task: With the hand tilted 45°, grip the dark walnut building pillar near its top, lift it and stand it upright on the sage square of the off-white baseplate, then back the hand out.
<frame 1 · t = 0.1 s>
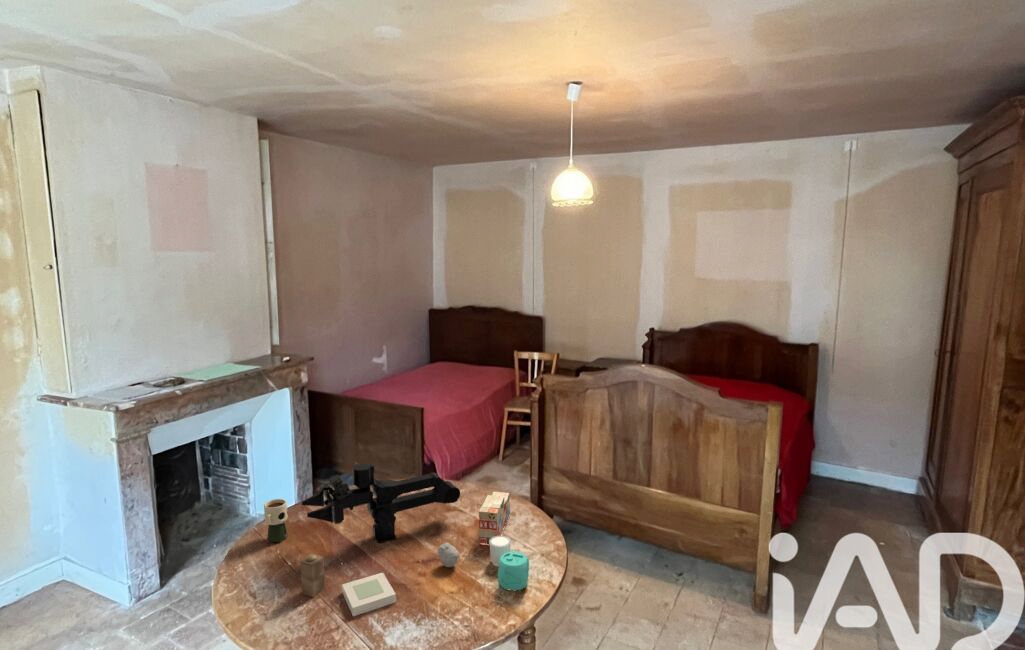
hand: (304, 509, 176), 17 cm above the table, tool horizontal, fingers open, 9 cm apart
teal lidded canister: (513, 584, 165), on the table
baseplate: (368, 597, 158), on the table
white cylinder: (500, 562, 176), on the table
walnut pillar: (313, 591, 161), on the table
character mug: (277, 539, 189), on the table
grey rock: (448, 566, 174), on the table
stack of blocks: (495, 530, 195), on the table
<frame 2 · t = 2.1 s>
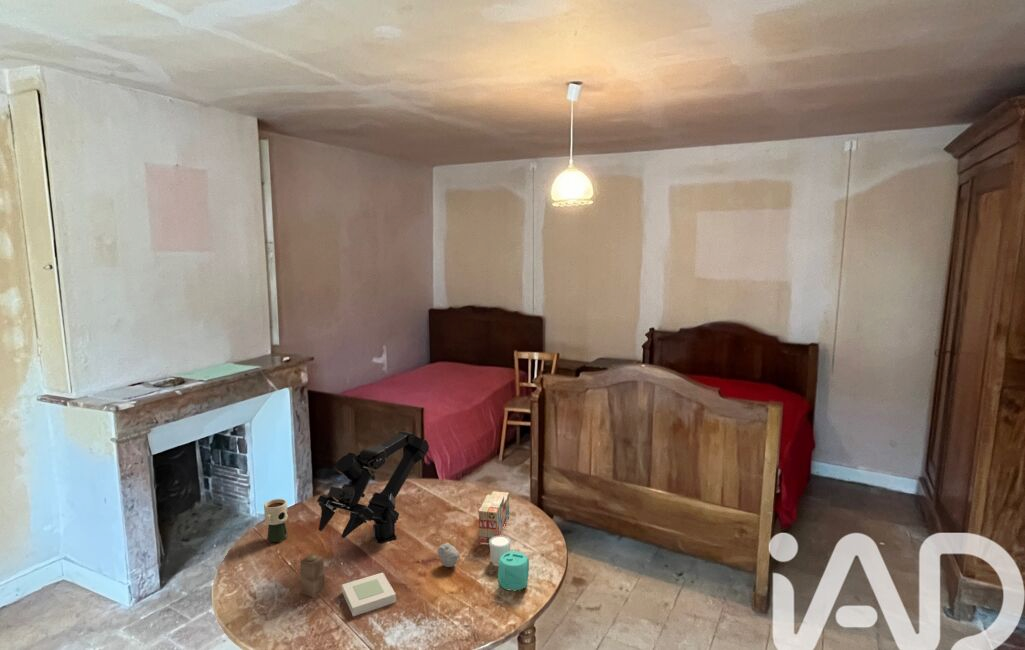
hand: (331, 534, 168), 13 cm above the table, tool tilted 50°, fingers open, 9 cm apart
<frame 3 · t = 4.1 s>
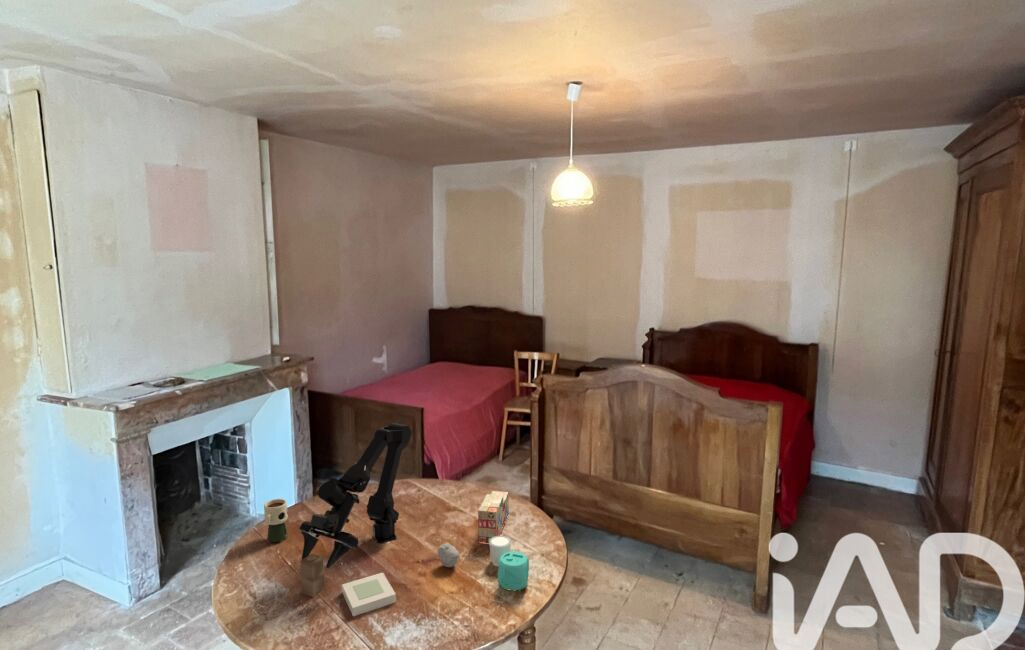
hand: (314, 564, 161), 8 cm above the table, tool tilted 45°, fingers open, 9 cm apart
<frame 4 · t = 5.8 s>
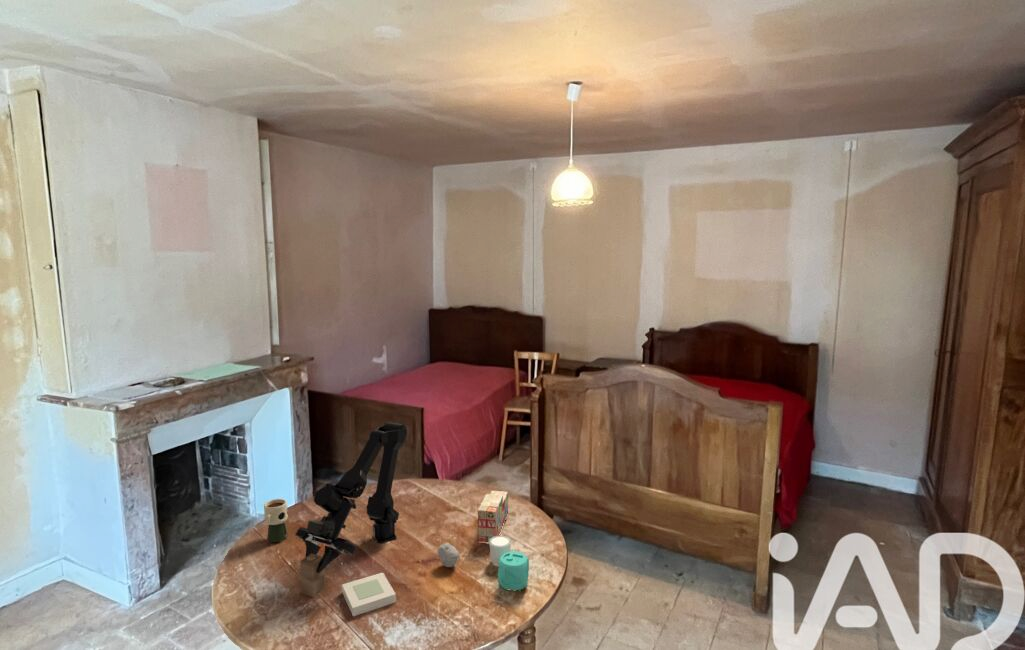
hand: (311, 570, 160), 7 cm above the table, tool tilted 45°, fingers closed on walnut pillar, 4 cm apart
walnut pillar: (313, 590, 161), on the table, touching gripper
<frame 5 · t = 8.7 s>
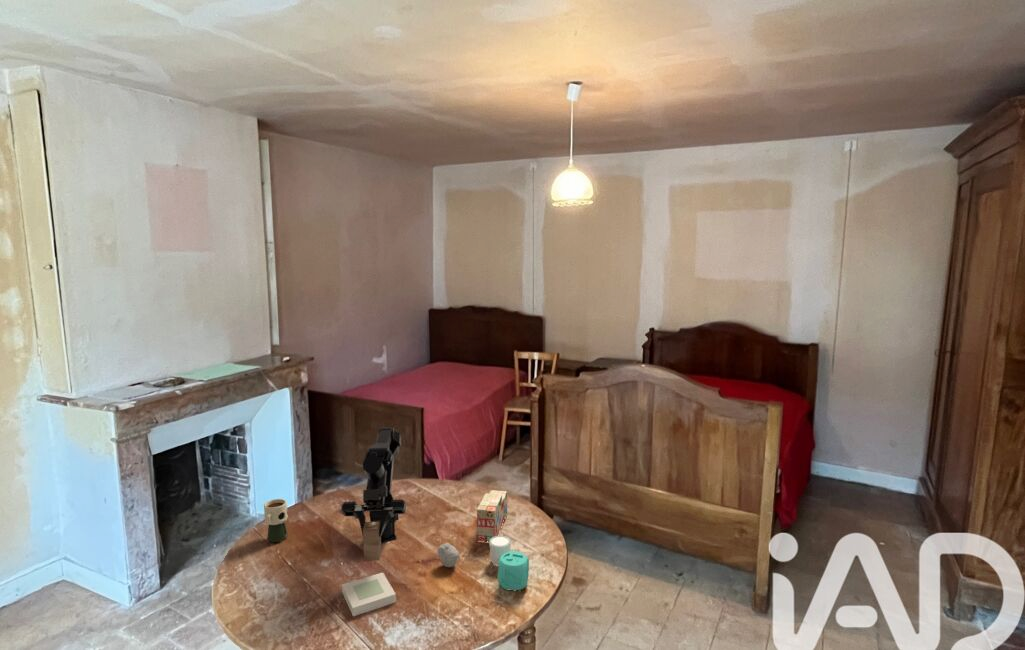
hand: (371, 536, 165), 13 cm above the table, tool tilted 45°, fingers closed on walnut pillar, 4 cm apart
walnut pillar: (372, 556, 166), point 7 cm above the table, touching gripper
when the fingers open (10 cm above the table, at t = 11.8 s): walnut pillar stays where it is, resting on baseplate.
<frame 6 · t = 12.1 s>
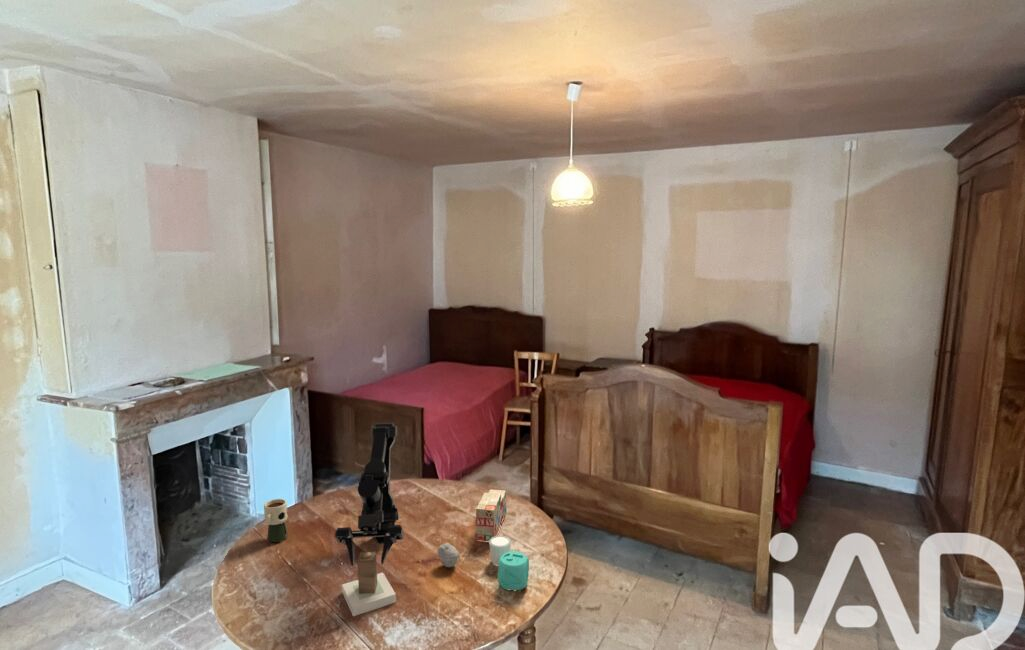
hand: (367, 565, 156), 10 cm above the table, tool tilted 45°, fingers open, 8 cm apart
walnut pillar: (368, 588, 158), point 3 cm above the table, touching baseplate
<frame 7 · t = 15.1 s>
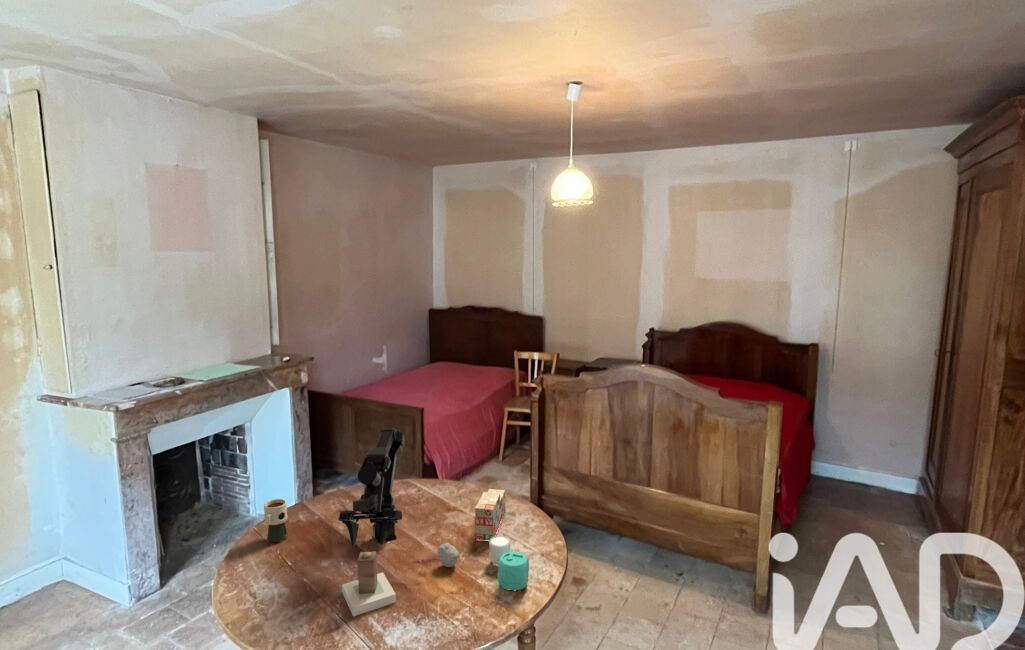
hand: (367, 545, 167), 10 cm above the table, tool tilted 40°, fingers open, 9 cm apart
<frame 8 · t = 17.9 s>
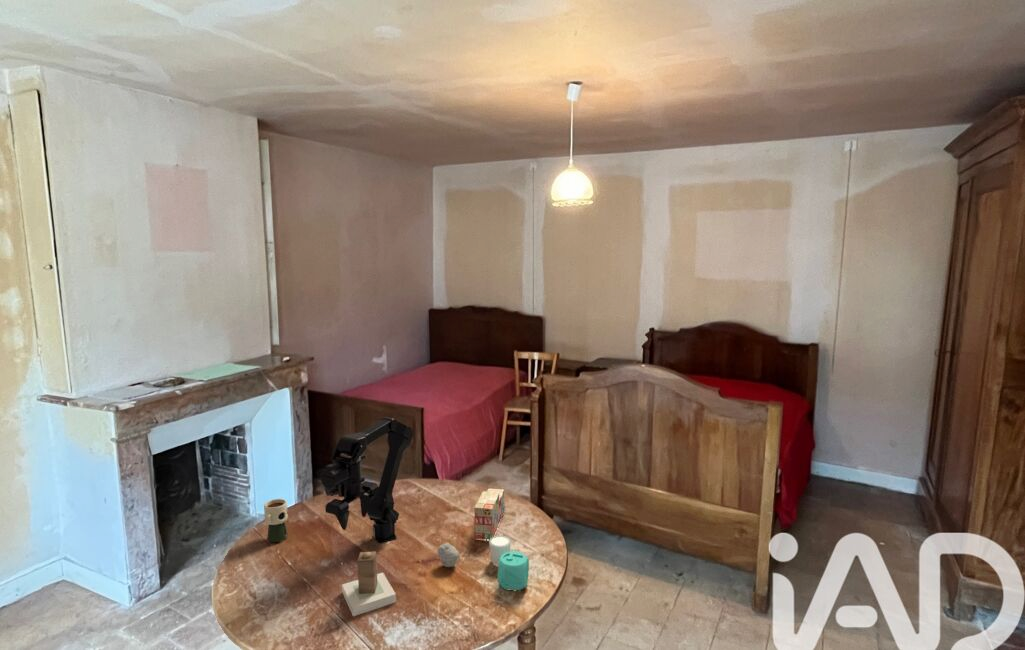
hand: (354, 522, 176), 12 cm above the table, tool pointing down, fingers open, 9 cm apart
at the end: walnut pillar 0.1 cm off-centre on the baseplate, point 2.6 cm above the baseplate's base; walnut pillar tilted 0°; the gripper is holding nothing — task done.
